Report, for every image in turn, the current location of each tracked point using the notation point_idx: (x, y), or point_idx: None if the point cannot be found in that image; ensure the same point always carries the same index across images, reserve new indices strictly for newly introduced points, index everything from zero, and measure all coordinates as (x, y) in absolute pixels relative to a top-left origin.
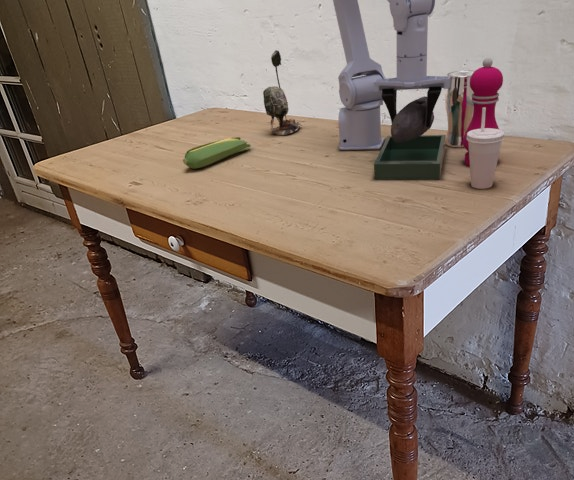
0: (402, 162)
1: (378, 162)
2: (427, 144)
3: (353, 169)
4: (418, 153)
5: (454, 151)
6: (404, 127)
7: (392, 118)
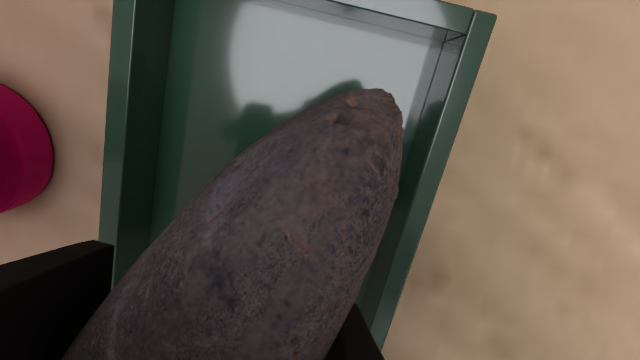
0: None
1: (466, 38)
2: None
3: (534, 196)
4: None
5: None
6: (276, 132)
7: (364, 345)
